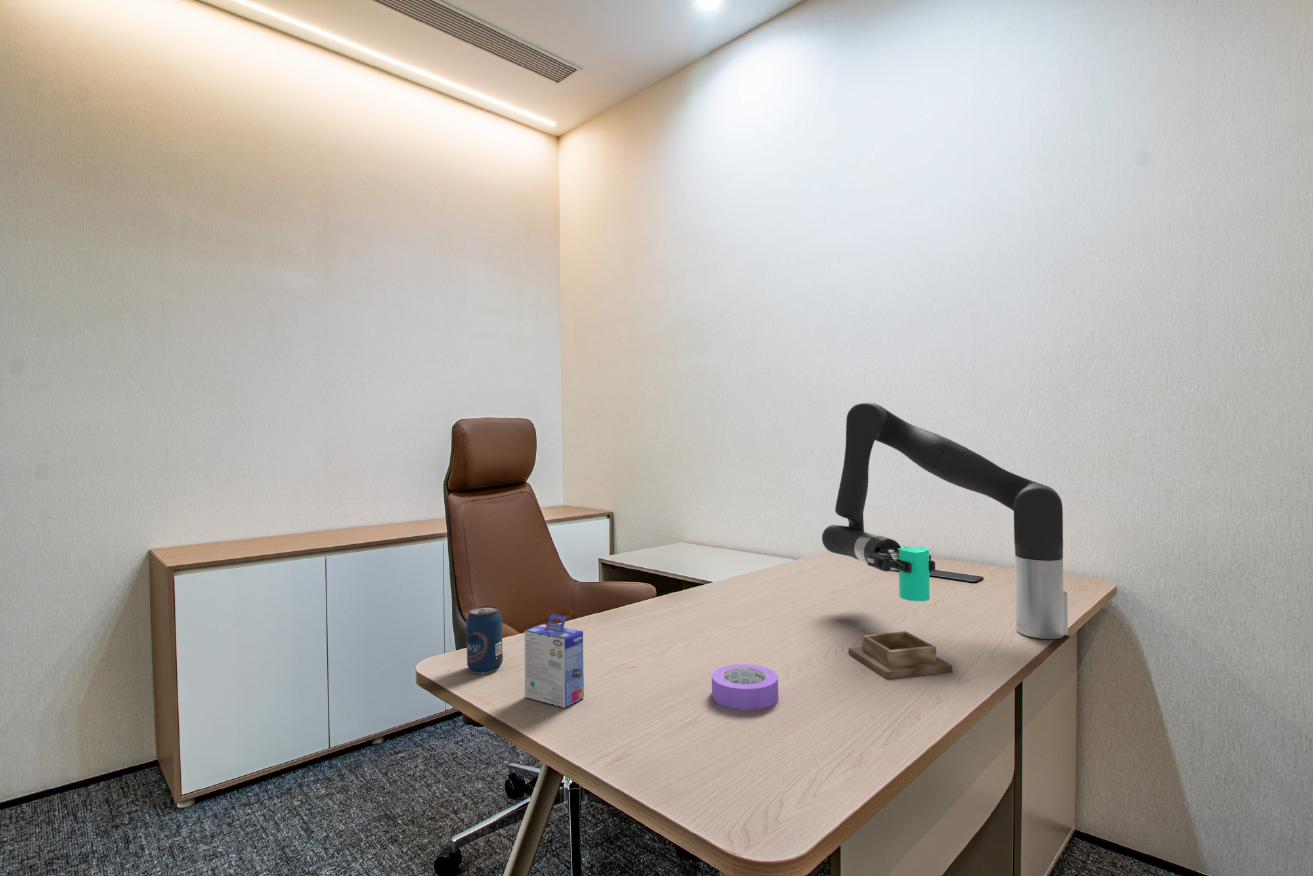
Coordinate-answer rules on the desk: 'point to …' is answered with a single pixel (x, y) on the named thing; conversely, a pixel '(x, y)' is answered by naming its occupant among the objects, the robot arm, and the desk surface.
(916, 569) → the candle
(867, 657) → the candle holder
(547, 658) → the ink cartridge box
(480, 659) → the soda can
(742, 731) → the desk surface
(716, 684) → the masking tape
